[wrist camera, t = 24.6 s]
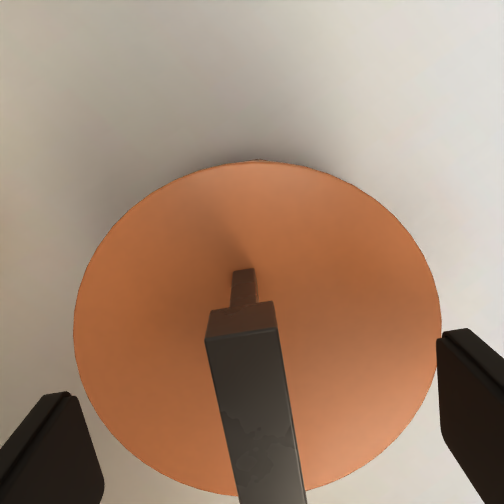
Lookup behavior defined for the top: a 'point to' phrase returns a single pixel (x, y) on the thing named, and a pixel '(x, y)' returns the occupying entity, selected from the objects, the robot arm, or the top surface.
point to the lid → (257, 330)
